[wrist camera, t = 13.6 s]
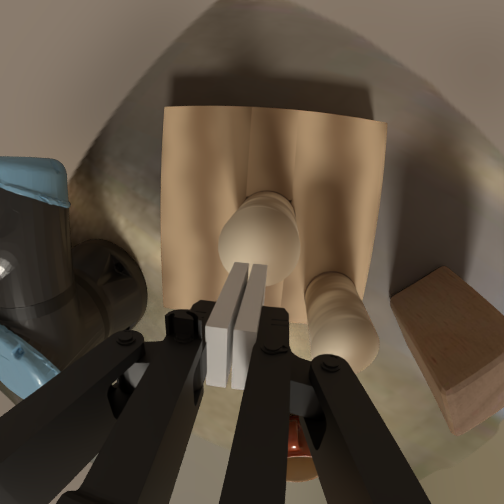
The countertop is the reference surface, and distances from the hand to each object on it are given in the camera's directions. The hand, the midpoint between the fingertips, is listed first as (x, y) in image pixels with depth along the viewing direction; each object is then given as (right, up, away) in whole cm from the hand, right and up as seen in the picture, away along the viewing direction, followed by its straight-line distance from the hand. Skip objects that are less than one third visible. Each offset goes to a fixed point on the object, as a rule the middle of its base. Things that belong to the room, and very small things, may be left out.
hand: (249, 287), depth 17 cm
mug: (+8, -27, +32) cm, 42 cm away
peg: (+2, +7, +21) cm, 22 cm away
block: (+25, -6, +23) cm, 35 cm away
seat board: (+2, +7, +21) cm, 22 cm away
